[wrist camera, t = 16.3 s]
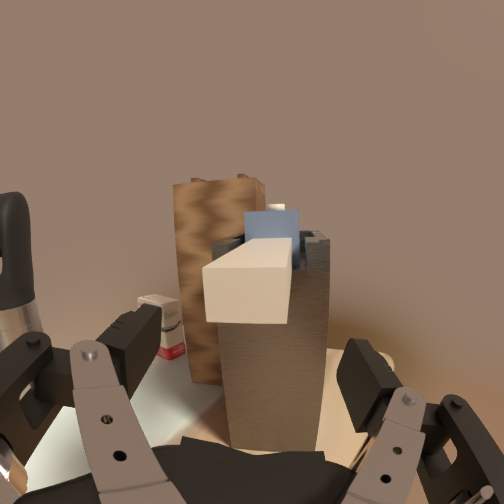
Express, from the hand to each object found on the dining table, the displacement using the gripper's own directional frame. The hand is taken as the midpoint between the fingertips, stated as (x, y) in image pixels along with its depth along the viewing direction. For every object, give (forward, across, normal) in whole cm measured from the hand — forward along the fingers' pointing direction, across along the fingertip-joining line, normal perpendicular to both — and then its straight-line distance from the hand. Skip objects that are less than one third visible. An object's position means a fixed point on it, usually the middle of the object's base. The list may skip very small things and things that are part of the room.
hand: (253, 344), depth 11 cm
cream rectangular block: (+12, -1, 0) cm, 12 cm away
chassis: (+17, -7, +22) cm, 29 cm away
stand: (+31, 0, +25) cm, 40 cm away
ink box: (+38, +15, +29) cm, 50 cm away
